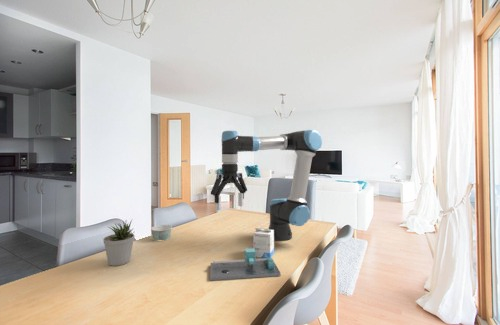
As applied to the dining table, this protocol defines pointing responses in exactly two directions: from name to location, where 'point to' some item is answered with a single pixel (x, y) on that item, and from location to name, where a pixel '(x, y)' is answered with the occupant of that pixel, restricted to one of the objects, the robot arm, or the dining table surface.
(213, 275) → the bolt plate
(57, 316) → the dining table surface
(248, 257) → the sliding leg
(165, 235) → the food container
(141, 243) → the dining table surface
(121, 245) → the potted plant
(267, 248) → the ink box
